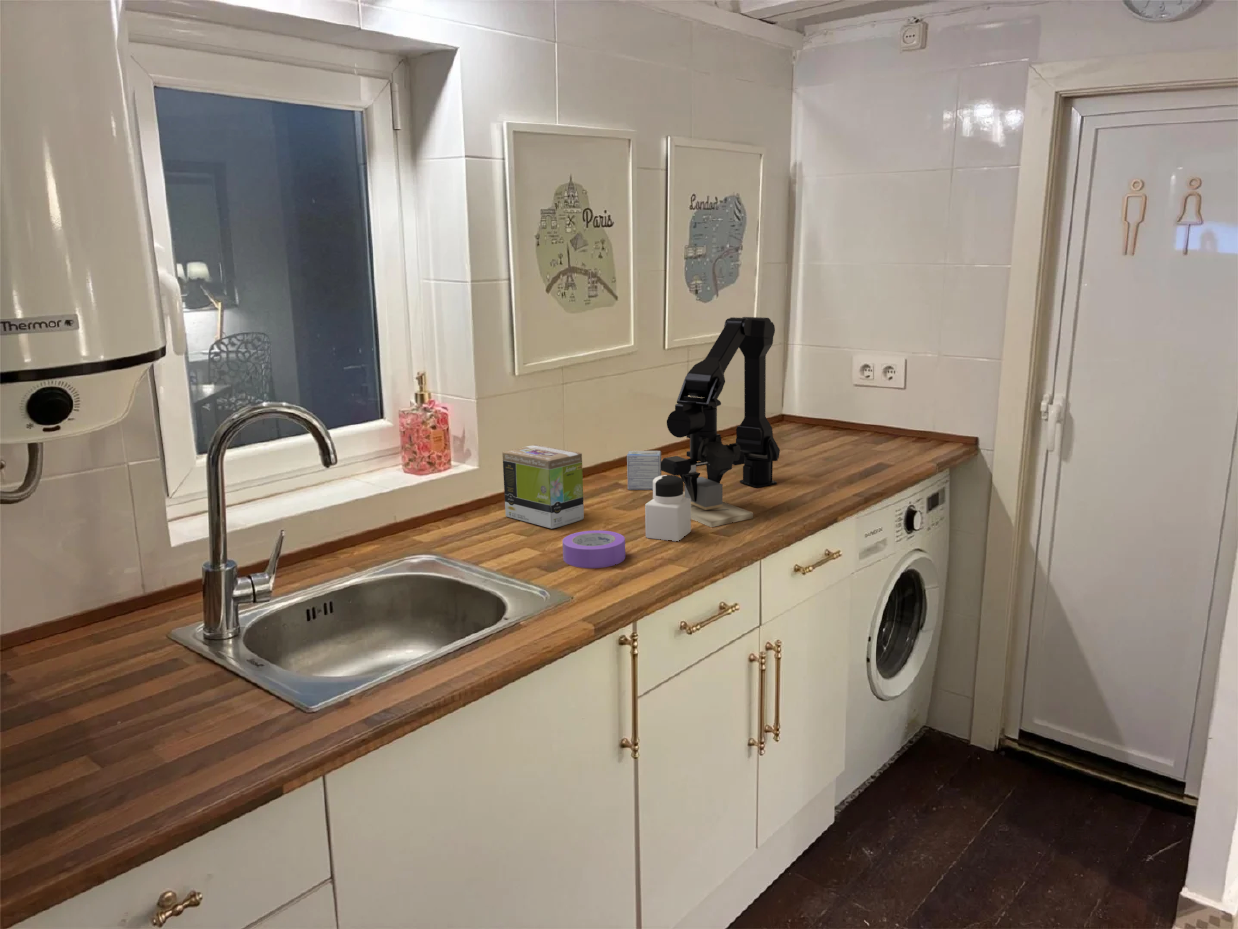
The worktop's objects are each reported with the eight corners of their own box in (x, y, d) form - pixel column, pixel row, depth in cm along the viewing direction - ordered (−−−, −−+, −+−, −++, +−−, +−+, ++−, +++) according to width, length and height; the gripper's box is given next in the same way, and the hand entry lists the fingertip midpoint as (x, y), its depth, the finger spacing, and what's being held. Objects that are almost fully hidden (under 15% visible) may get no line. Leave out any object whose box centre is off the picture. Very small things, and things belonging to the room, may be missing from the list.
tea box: (585, 519, 200) (583, 451, 197) (551, 530, 193) (548, 460, 190) (538, 507, 210) (535, 442, 207) (503, 517, 203) (500, 450, 200)
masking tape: (554, 554, 180) (553, 534, 179) (610, 545, 184) (610, 526, 183) (576, 573, 169) (575, 553, 168) (635, 563, 174) (635, 543, 173)
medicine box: (661, 485, 226) (661, 450, 224) (660, 490, 222) (660, 454, 220) (629, 485, 227) (628, 450, 225) (627, 490, 223) (626, 454, 220)
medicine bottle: (691, 531, 190) (691, 474, 188) (678, 542, 184) (678, 483, 181) (658, 528, 193) (658, 471, 191) (645, 538, 187) (644, 479, 184)
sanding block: (701, 498, 209) (701, 476, 208) (722, 506, 202) (722, 484, 201) (684, 501, 207) (684, 479, 206) (705, 510, 200) (705, 487, 199)
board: (691, 495, 217) (691, 490, 217) (753, 518, 199) (753, 512, 198) (651, 503, 211) (651, 498, 211) (711, 527, 193) (711, 521, 193)
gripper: (689, 441, 189) (689, 515, 193) (761, 429, 199) (760, 501, 202) (658, 432, 198) (659, 503, 202) (729, 421, 208) (728, 490, 211)
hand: (703, 499), depth 204 cm, fingers closed on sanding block, 4 cm apart
